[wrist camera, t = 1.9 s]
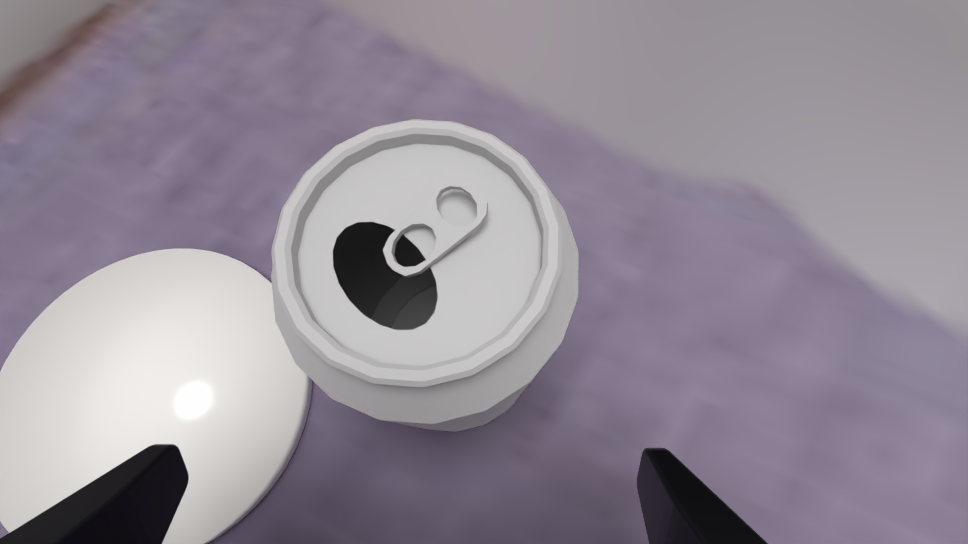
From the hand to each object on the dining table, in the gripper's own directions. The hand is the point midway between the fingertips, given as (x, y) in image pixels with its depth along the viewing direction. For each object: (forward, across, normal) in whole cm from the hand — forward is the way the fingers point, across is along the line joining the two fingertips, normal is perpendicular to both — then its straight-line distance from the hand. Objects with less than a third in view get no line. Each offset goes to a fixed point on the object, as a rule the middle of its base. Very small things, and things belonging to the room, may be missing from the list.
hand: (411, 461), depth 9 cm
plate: (+9, +13, +6) cm, 17 cm away
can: (+11, 0, +5) cm, 12 cm away
